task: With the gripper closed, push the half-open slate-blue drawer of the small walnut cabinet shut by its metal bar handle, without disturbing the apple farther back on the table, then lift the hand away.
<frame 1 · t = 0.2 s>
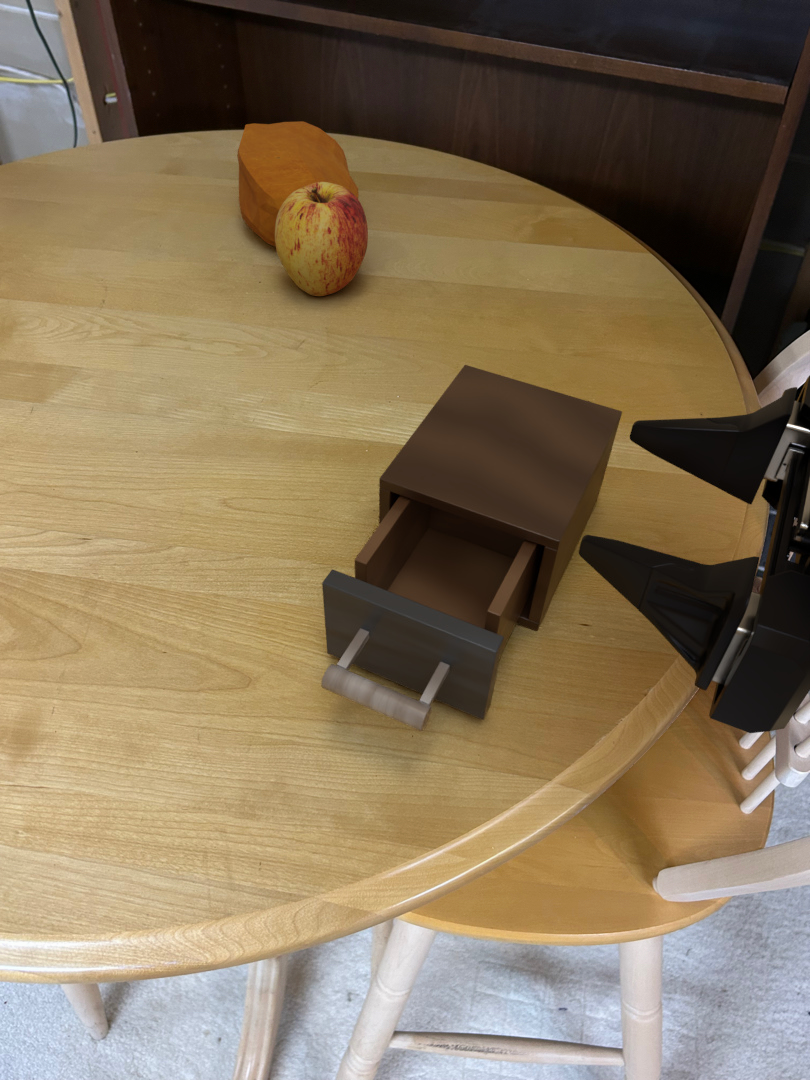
hand: (608, 482, 39), 16 cm above the table, tool horizontal, fingers open, 9 cm apart
drawer: (434, 602, 48), point 4 cm above the table, slide at 7.0 cm
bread: (306, 219, 91), on the table
apple: (323, 288, 81), on the table
cabinet: (492, 534, 58), on the table
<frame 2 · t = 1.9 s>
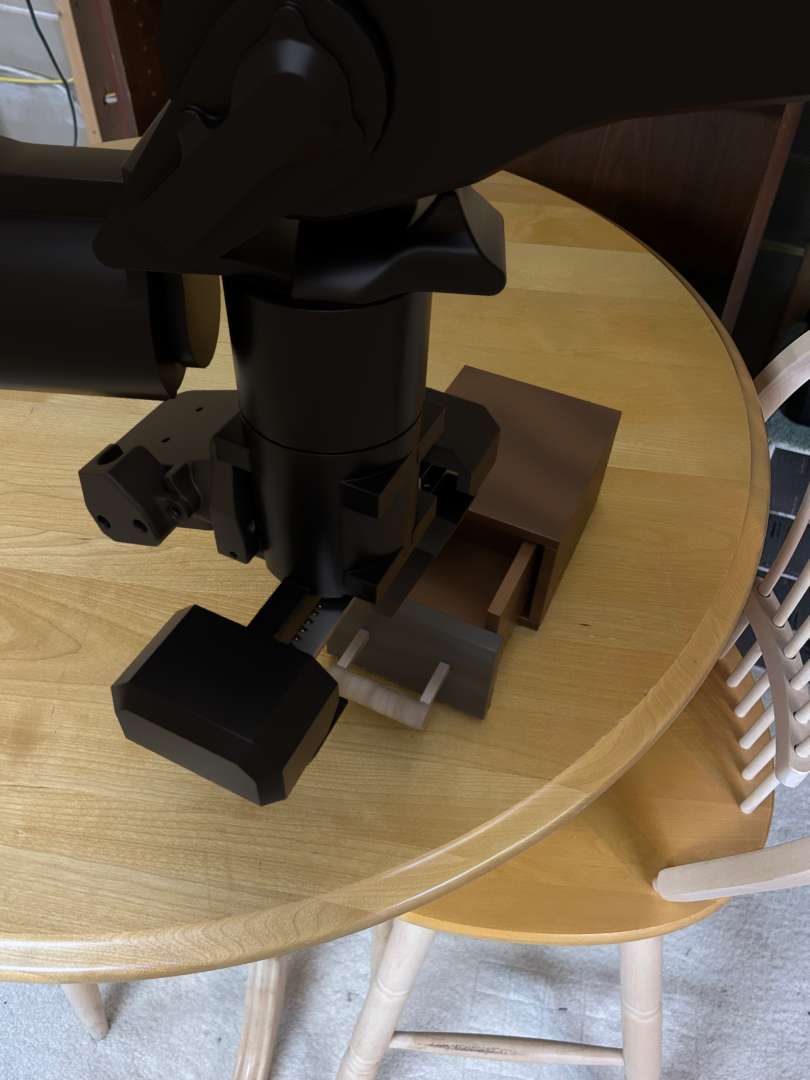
hand: (341, 676, 36), 11 cm above the table, tool pointing down, fingers open, 8 cm apart
nothing on the table moved.
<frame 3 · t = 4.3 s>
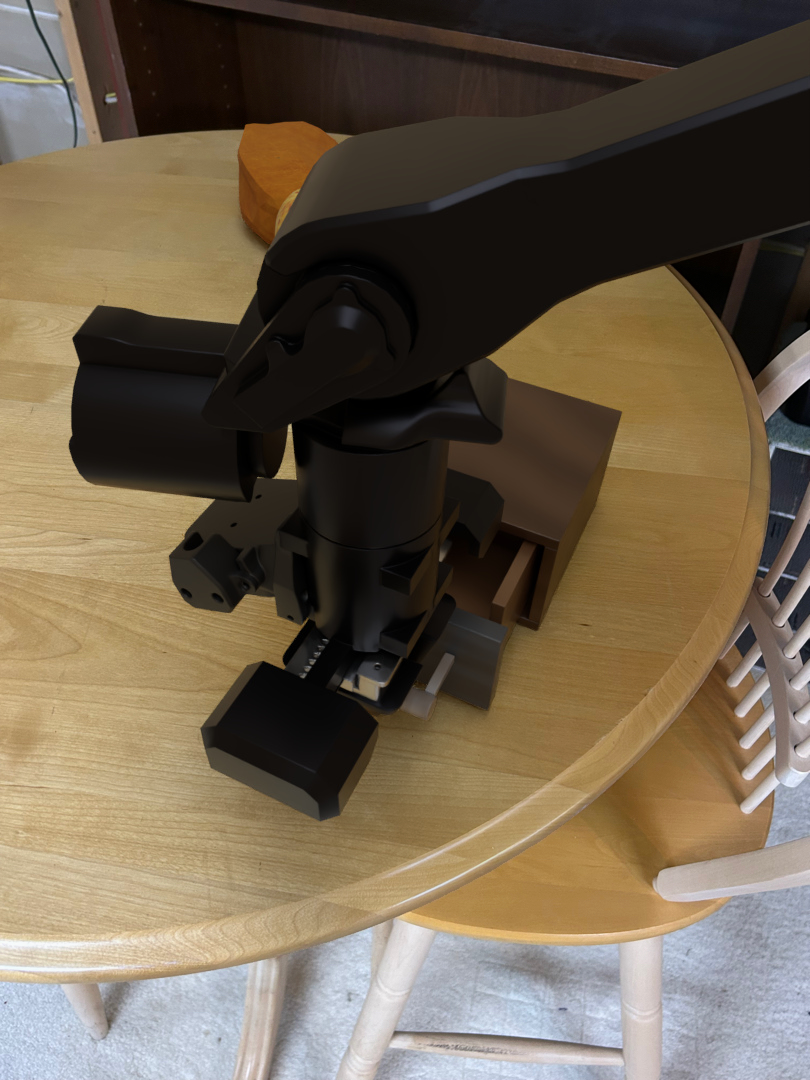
hand: (372, 708, 43), 4 cm above the table, tool pointing down, fingers closed
drawer: (438, 594, 49), point 4 cm above the table, slide at 6.3 cm, touching gripper
everything else where it was.
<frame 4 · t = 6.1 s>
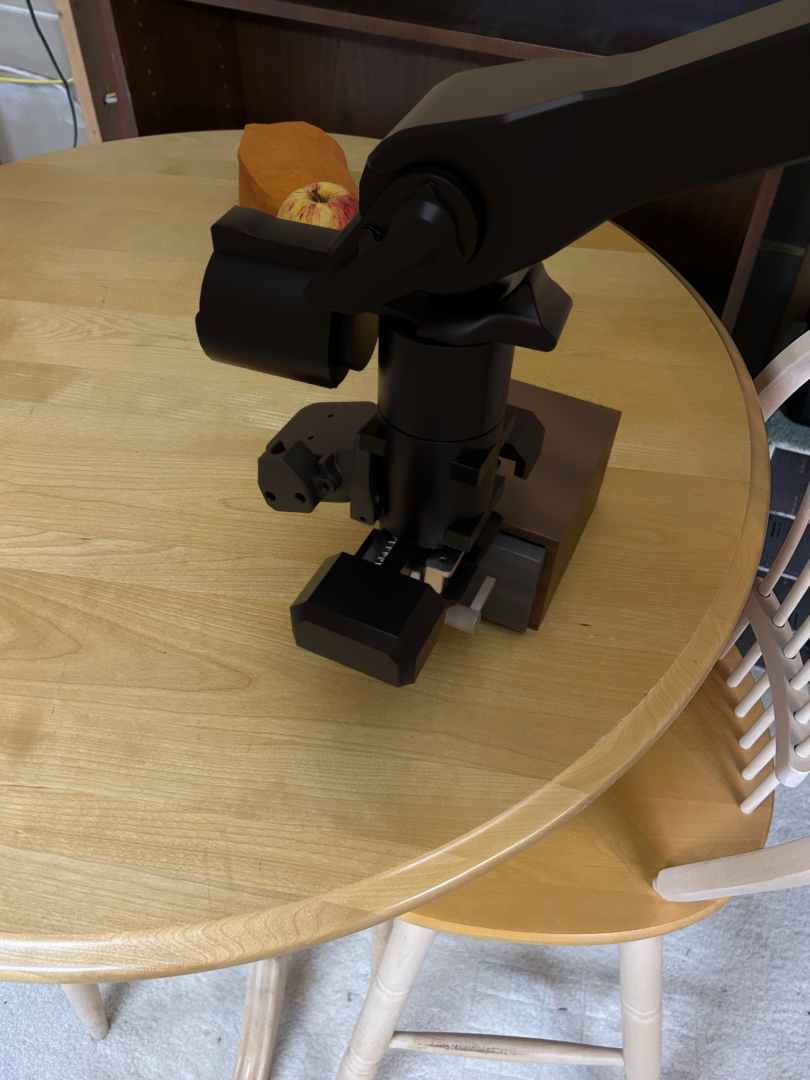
hand: (423, 621, 47), 4 cm above the table, tool pointing down, fingers closed
drawer: (478, 527, 52), point 4 cm above the table, slide at 0.0 cm, touching cabinet, gripper
everything else where it was.
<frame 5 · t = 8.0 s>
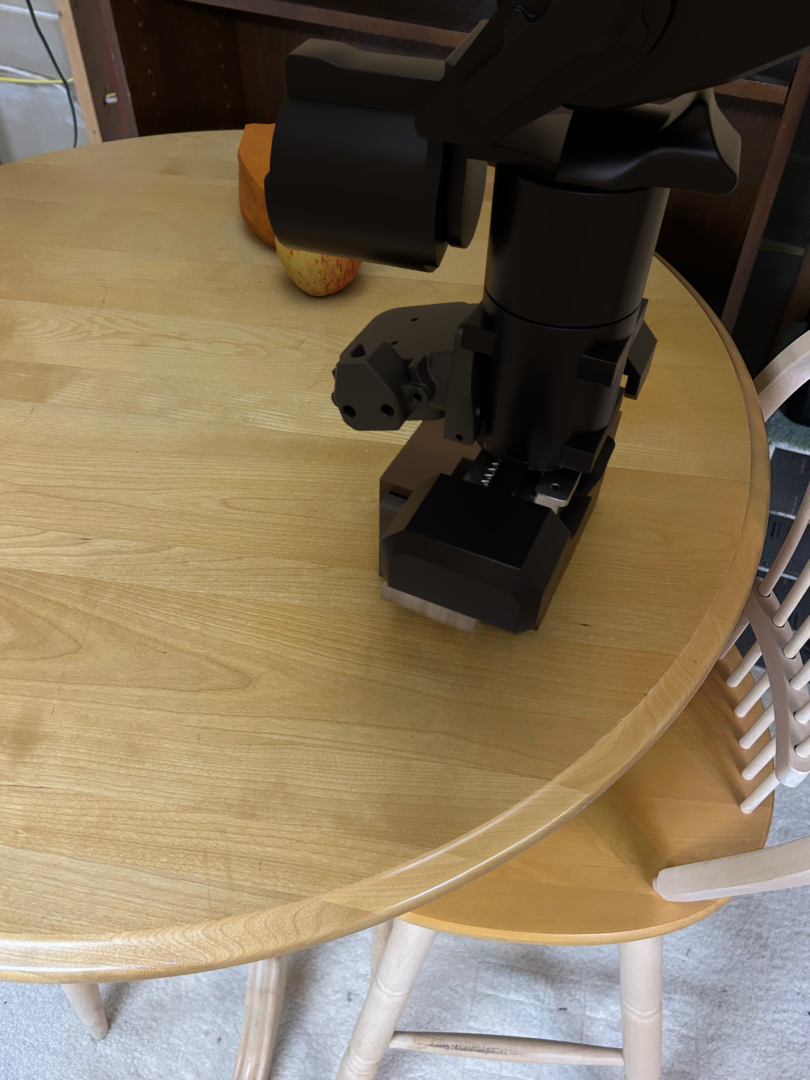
hand: (513, 569, 41), 11 cm above the table, tool pointing down, fingers closed
drawer: (478, 527, 52), point 4 cm above the table, slide at 0.0 cm, touching cabinet
everything else where it was.
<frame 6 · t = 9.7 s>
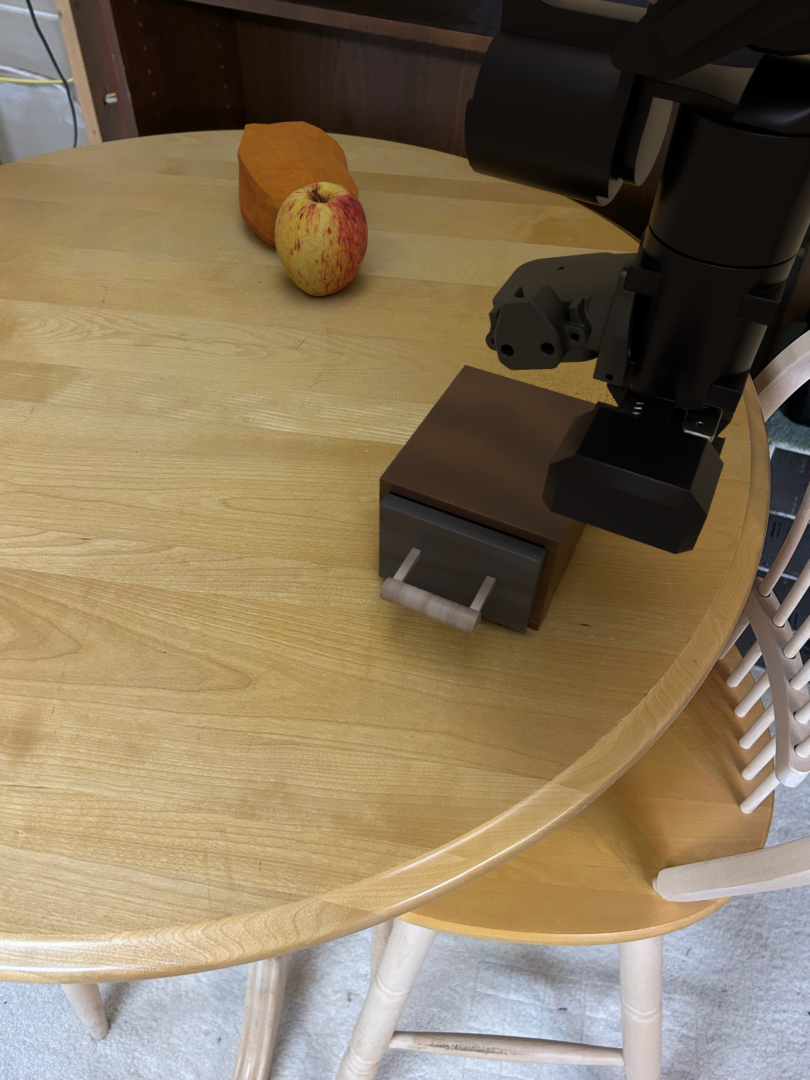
hand: (629, 514, 43), 12 cm above the table, tool pointing down, fingers closed
nothing on the table moved.
at the end: drawer slide at 0.0 cm; apple moved 0.3 cm from its start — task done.
